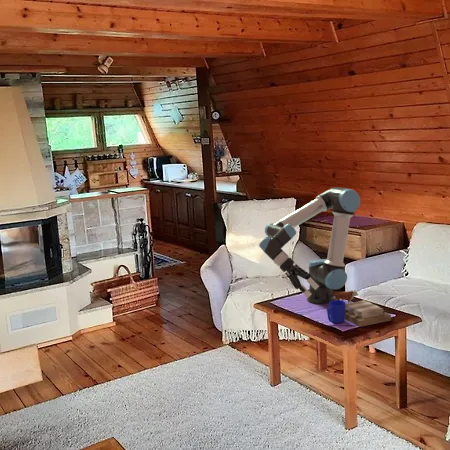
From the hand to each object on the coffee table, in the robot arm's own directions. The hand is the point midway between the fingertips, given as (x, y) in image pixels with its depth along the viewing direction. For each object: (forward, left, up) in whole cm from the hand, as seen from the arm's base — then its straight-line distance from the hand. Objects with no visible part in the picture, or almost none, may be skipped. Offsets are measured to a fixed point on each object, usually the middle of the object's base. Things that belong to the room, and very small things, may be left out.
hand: (313, 292), depth 285 cm
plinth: (+9, +24, -15) cm, 29 cm away
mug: (+8, +8, -15) cm, 19 cm away
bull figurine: (-14, +28, -15) cm, 35 cm away
